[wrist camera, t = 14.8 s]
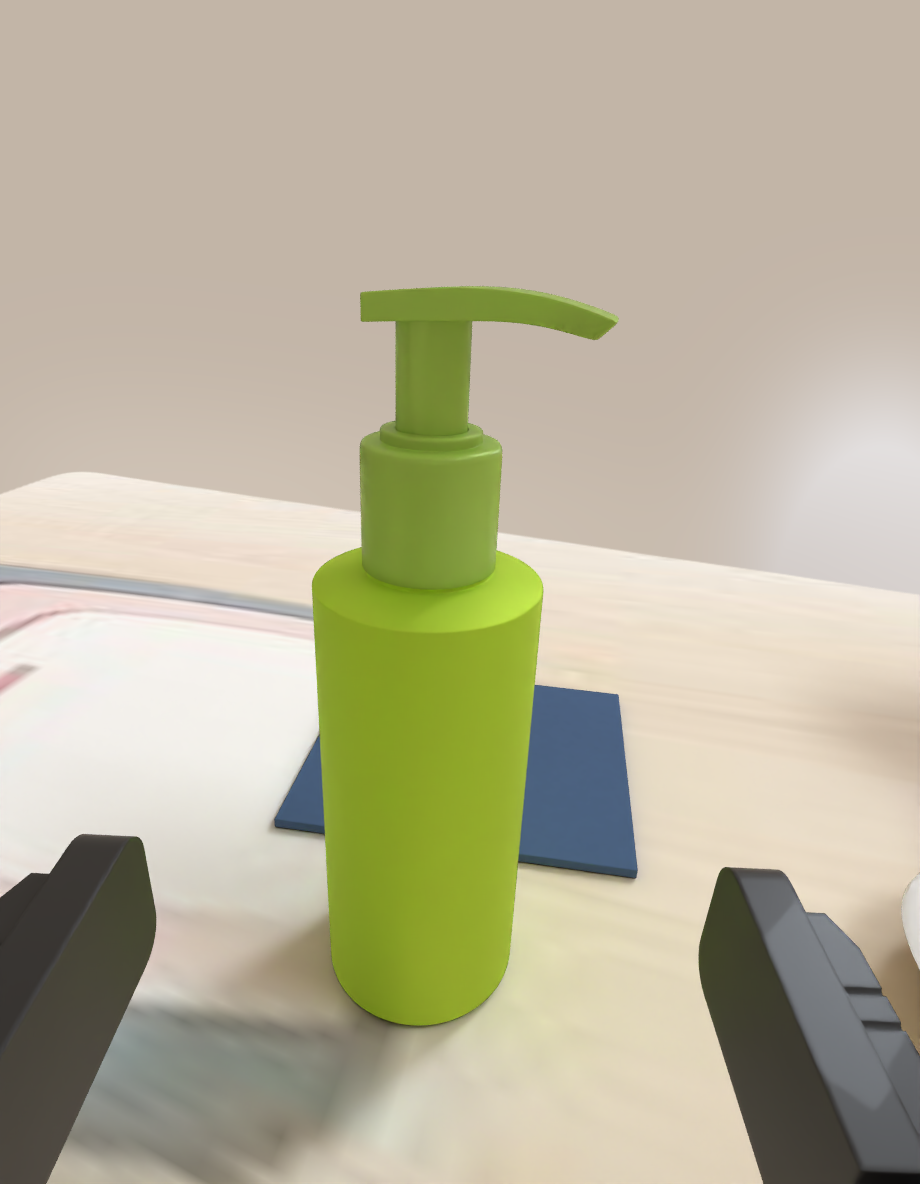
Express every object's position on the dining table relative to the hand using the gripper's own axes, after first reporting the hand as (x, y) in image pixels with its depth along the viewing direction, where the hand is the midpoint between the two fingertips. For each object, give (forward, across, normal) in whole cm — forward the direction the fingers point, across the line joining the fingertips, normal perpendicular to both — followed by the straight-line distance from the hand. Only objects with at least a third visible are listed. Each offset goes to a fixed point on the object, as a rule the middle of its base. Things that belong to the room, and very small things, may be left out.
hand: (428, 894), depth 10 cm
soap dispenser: (+9, 0, +13) cm, 16 cm away
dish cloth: (+19, -1, +12) cm, 23 cm away
